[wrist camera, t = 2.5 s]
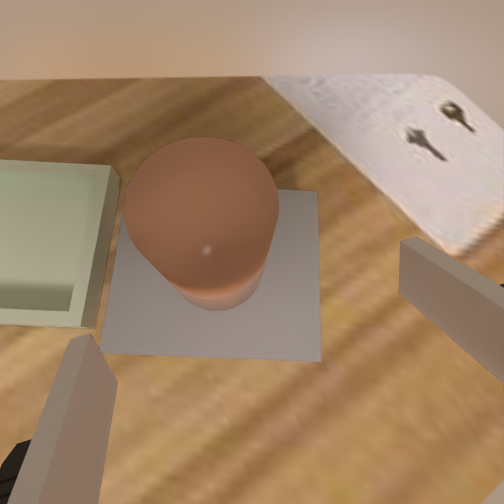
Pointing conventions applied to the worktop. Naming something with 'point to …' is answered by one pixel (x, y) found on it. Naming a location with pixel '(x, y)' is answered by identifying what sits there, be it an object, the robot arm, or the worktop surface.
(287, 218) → the grey square plinth
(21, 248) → the tray
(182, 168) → the terracotta domed cylinder
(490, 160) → the worktop surface
